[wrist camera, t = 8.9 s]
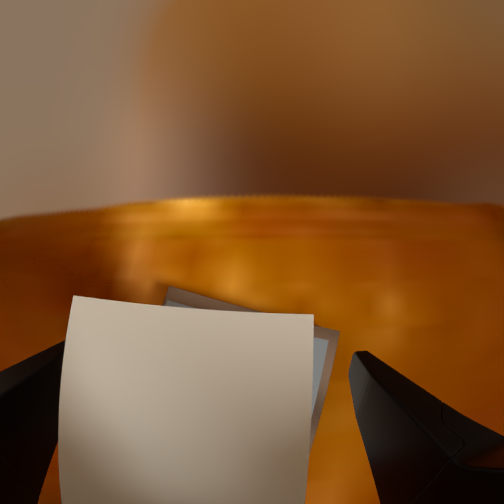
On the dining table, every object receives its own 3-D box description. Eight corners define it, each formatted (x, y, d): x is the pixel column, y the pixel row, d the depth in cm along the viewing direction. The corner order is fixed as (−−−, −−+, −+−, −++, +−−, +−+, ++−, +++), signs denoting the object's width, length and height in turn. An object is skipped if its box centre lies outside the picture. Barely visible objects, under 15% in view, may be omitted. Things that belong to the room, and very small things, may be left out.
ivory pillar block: (266, 444, 15) (298, 549, 4) (178, 436, 15) (61, 506, 4) (271, 360, 17) (313, 314, 6) (183, 354, 17) (73, 295, 6)
